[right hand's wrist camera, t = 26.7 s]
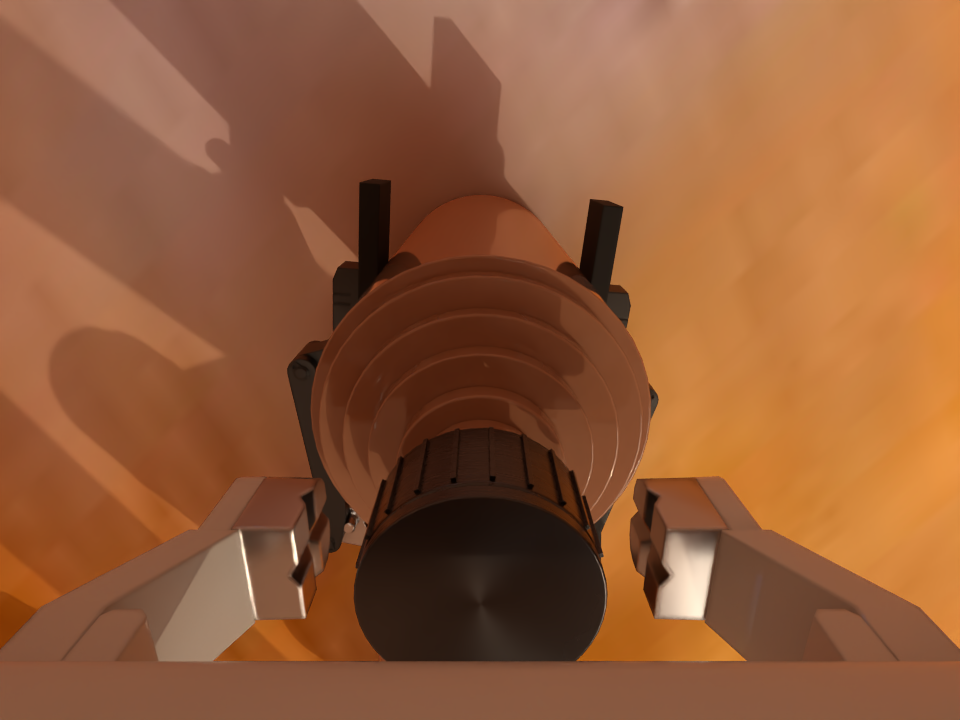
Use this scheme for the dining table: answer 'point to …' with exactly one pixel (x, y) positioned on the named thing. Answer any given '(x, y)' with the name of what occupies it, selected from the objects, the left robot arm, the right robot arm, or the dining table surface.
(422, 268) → the bottle
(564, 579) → the cap
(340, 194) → the dining table surface
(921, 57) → the dining table surface
